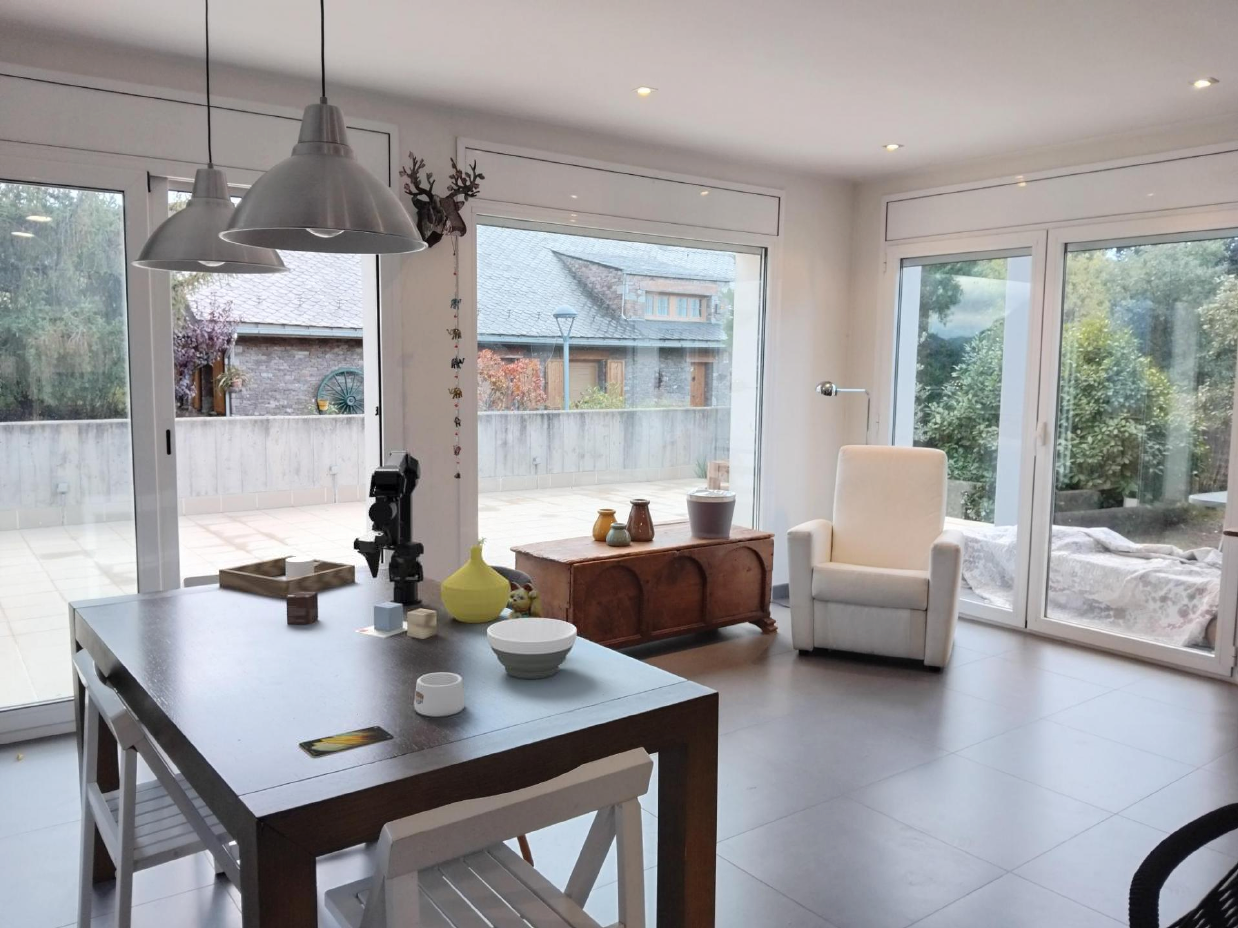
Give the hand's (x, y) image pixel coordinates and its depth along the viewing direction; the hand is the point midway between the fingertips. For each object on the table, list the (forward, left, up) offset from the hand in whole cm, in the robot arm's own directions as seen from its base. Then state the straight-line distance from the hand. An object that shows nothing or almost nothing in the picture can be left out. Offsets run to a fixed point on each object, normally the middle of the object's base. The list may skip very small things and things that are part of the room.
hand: (388, 579), depth 240 cm
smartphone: (+59, +45, -13) cm, 75 cm away
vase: (-20, +12, -13) cm, 27 cm away
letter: (0, 0, -12) cm, 12 cm away
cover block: (0, +11, -13) cm, 17 cm away
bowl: (+9, +50, -13) cm, 52 cm away
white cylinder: (-23, -57, -13) cm, 63 cm away
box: (+7, -23, -13) cm, 27 cm away
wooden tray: (-21, -60, -12) cm, 65 cm away
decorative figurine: (-9, +36, -13) cm, 39 cm away
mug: (+37, +47, -13) cm, 61 cm away
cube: (0, 0, -12) cm, 12 cm away
